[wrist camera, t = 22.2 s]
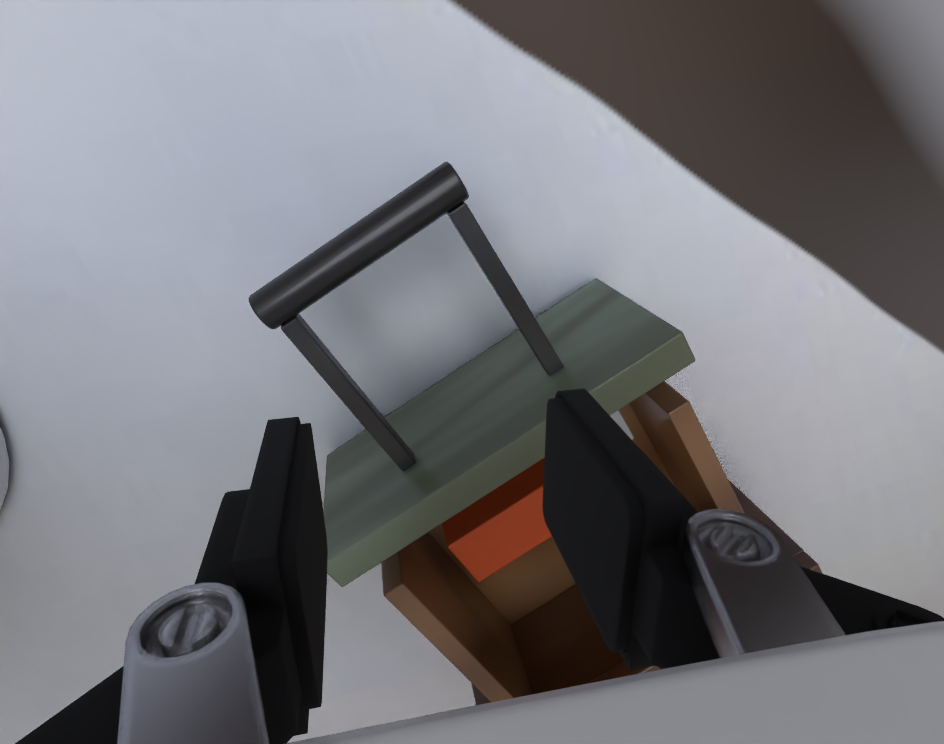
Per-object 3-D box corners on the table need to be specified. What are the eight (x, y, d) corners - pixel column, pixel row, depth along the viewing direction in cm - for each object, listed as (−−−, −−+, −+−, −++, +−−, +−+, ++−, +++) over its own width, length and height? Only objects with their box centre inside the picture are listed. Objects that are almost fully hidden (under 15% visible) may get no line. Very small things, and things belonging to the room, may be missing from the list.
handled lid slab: (195, 312, 21) (132, 390, 15) (503, 101, 20) (570, 91, 14) (488, 631, 30) (523, 761, 24) (709, 493, 29) (804, 590, 23)
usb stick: (465, 535, 26) (478, 583, 23) (436, 501, 25) (446, 547, 22) (627, 432, 26) (660, 468, 23) (604, 392, 25) (636, 425, 22)
